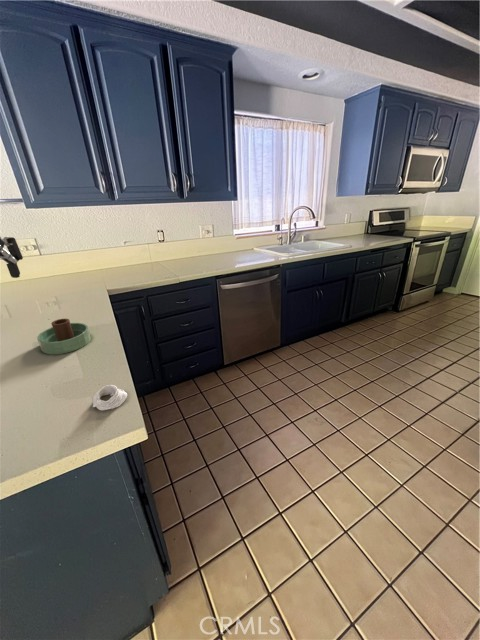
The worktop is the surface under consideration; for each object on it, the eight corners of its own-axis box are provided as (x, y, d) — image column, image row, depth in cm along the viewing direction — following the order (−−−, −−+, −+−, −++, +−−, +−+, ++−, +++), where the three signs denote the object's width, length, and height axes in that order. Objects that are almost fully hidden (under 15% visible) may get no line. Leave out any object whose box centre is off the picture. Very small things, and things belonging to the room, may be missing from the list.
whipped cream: (128, 394, 72) (126, 378, 71) (127, 409, 66) (125, 392, 65) (96, 398, 70) (93, 382, 68) (91, 414, 64) (88, 397, 62)
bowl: (35, 359, 86) (29, 345, 84) (50, 337, 100) (46, 325, 97) (86, 351, 90) (82, 338, 88) (94, 332, 104) (91, 320, 101)
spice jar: (56, 347, 92) (49, 325, 88) (61, 340, 96) (54, 319, 93) (73, 345, 93) (66, 323, 89) (77, 338, 98) (70, 317, 94)
